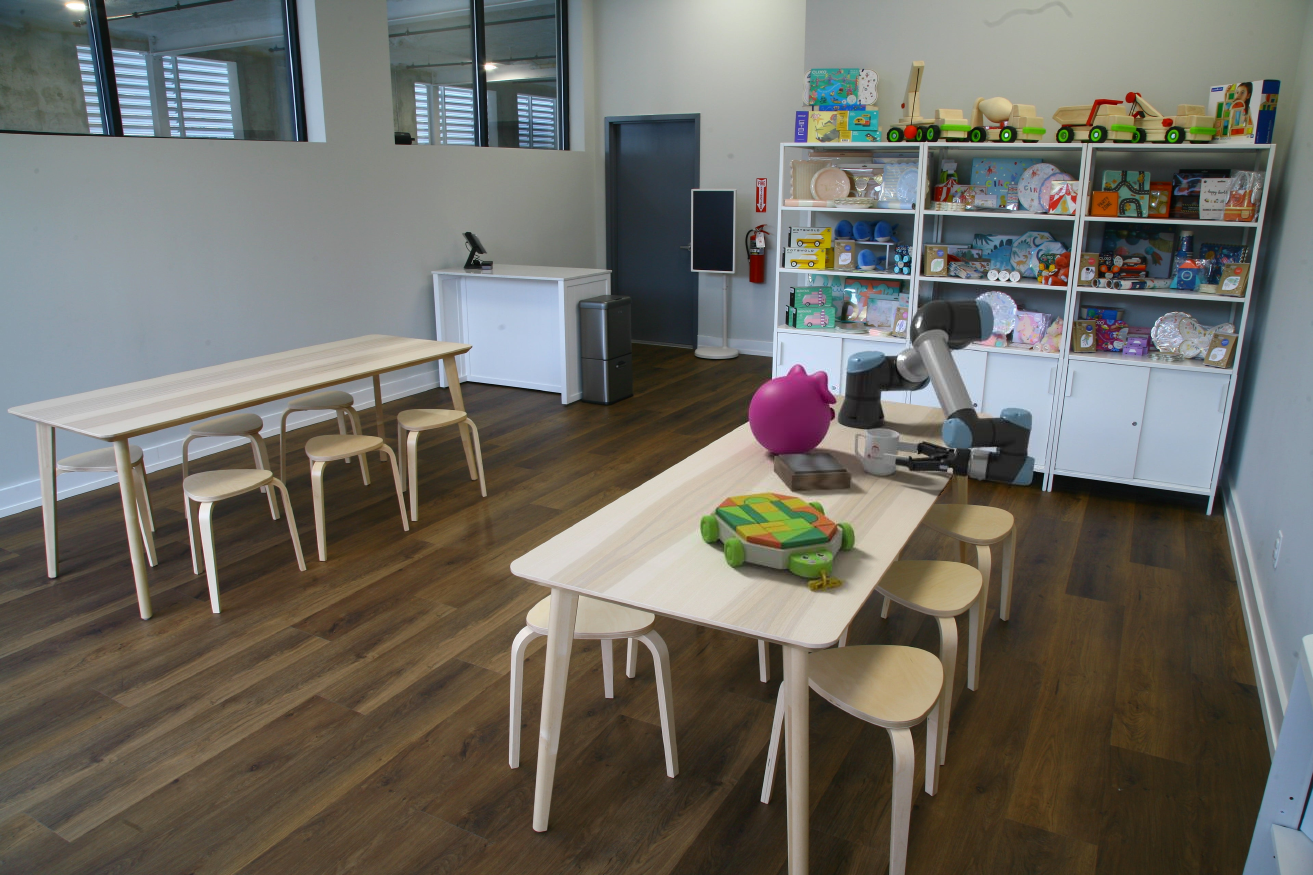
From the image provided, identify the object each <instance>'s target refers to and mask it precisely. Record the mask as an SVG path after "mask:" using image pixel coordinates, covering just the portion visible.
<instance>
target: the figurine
mask: <svg viewBox="0 0 1313 875" xmlns="http://www.w3.org/2000/svg"><path fill="white" fill-rule="evenodd" d="M837 402H838V401H837V399H836V397H835V395H834V394H833V393H832V392H831V390H829V377H828V373H827V372H825V370H819V371H817V372H814V373H812V374H809V375H808V373H807V371H806V369H805V368H804V366H803V365H801V364H795V365H793V366H792V367H791V368H790V369H789V371H788V373H787V374H786V375H784V376H779V377H778V376H777V377H775V378H773V379H770V380H768V381H766V382H765V383H763V384H762V385H761V386H760V387H759V388H758V389H757V390H756V391H755V393H754V395H753V396H752V399H751V401H750V403H749V409H748V423H749V426H750V430H751V432H752V435H753V437H754V439H755V440H756V441H757V442H758V443H759V445H760V446H761V447H763V448H764V449H766V450H767V451H769V452H771V453H774V454H776V455H786V454H808V452H810V451H813V450H814V449H816V448H817V447H818V446H819V445H820V444H821V443H822V442H823V441H824V440H825V438H826V436H827V434H828V431H829V429H830V428H829V427H830V425H831V421H833V420H835V418H836V411H835V410H834V408H833V407H830V405H836V403H837Z"/></svg>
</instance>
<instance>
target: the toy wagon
mask: <svg viewBox="0 0 1313 875" xmlns="http://www.w3.org/2000/svg"><path fill="white" fill-rule="evenodd" d="M825 514H826V513H825V509H824V507H823V505H822V504H821V503H820V502H818V501H812V502H811V501H810V502H806V501H805V500H803V498H801V497H799V496H798V497H797V496H793V495H786V494H779V493H775V492H761V493H751V494H743V495H735V496H729V497H727V498H725V499H724V500H723V501H722V502H721V503H720V504H719V505H718V506H716V508H714V509H713V510H712V511H711V512H710V515H709V514H708V515H703V516H702V517H701V519H700V524H699V528H700V530H699V531H700V535H701V537H702V540H703V541H704V543H706V544H709V543H710V544H711V543H715V542H717V541H718V539H719V540H720V541H721V542H722V543H723V544H724V545H723V553H724V558H725V560H726V562H727V564H728V566H730V567H732V568H736V567H738V568H739V567H741V566H742V565H743V564H744V562H747V563H751V564H755V565H761V566H763V567H768V568H772V569H773V568H774V569H778V570H787V569H788V570H789V571H791V572H792V573H793V574H794V575H798V576H800V577H804V578H809V579H810V578H811V579H813V580H809V581H808V582H807V586H808V589H809V590H810V591H811V592H815V591H825V590H830V588H839V587H842V586H843V583H844V582H843V581H842V580H841V579H840V578H837V577H835V576H832V577H827V576H829V575H830V574H831V573H832V572H833V564H834V558H835V556H836V555H837V553H838V552H839V550H842V551H849V550H852V549H853V547H854V546H855V543H856V542H855V541H856V535H855V530H854V528H853V527H852V526H851V524H850V523H848V522H846V521H845V522H839V523H835V522H834V521H833V520H831V519H830V518H829V517H827V516H826V515H825ZM818 578H820V579H818ZM814 579H816V580H814Z"/></svg>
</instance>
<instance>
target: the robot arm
mask: <svg viewBox="0 0 1313 875" xmlns="http://www.w3.org/2000/svg"><path fill="white" fill-rule="evenodd" d="M994 326H995V316H994V311H993V308H992V306H991V304H990V303H989V302H988V301H986V300H982V299H977V298H974V299H970V300H969V299H968V300H967V299H966V300H961V299H959V300H955V299H953V300H950V299H949V300H947V299H946V300H945V299H944V300H939V299H938V300H937V299H936V300H932V301H929V302H927V303H925V304H923V305H922V306H920V308H919V309H918V310H917V311H916V312H915V313H914V315H913V317H912V320H911V322H910V326H909V339H910V342H911V343H910V344H911V345H912V348H911V347H910V348H905V349H903V350H902V351H901V352H900V353H898V354H897V355H885V353H884V352H882V351H879V350H878V351H877V350H864V351H858V352H856V353H853V354H851V355H850V356H849V357H848V359H847V366H846V369H845V371H846V375H845V376H846V378H845V391H844V398H843V402H842V404H841V407H840V409H839V411H838V414H837V422H838V423H839V424H841V425H843V426H847V427H851V428H857V429H858V428H859V429H877V428H880V427H883V426H884V425H885V417H886V416H885V413H884V409H883V405H882V393H883V392H908V391H909V392H916V391H922V390H925V389H926V388H927V387H928V385H929V384H930V383H931V385H932V388H933V390H934V392H935V395H936V397H937V400H938V403H939V405H940V408H941V410H942V413H943V415H944V418H945V421H944V423H943V425H942V428H941V435H942V441H943V444H944V445H945V446H947V447H945V446H941V445H939V444H935V443H931V442H928V441H921V442H911V441H904V440H899V446H898V452H906V453H911V454H912V453H913V454H917V455H921V454H922V455H924V456H926V457H924V456H922V457H913V456H911V455H909V456H904V455H899V454H898V455H892V454H885V453H884V456H883V464H888V465H894V466H896V467H902V468H907V469H908V471H910V472H942V473H948V471H949V470H948V469H952V475H953V476H957V477H970V478H973V479H977V480H978V481H982V480H987V481H991V482H1000V483H1004V484H1010V485H1018V486H1019V485H1021V486H1028V485H1030V484H1031V483H1032V481H1033V475H1034V469H1035V462H1036V459H1035V458H1034V457H1033V456H1030V455H1028V454H1029V453H1028V452H1029V451H1028V448H1029V444H1030V437H1031V433H1032V432H1031V431H1032V429H1033V428H1032V426H1033V415H1032V413H1031V412H1030V411H1029V410H1027V409H1022V408H1017V407H1007V408H1003V409H1002V410H1001V412H1000V415H999V417H979V416H978V414H977V411H976V409H975V406H974V404H973V402H972V399H971V397H970V395H969V393H968V390H967V387H966V385H965V382H964V380H963V378H962V375H961V373H960V371H959V369H958V366H957V364H956V361H955V359H954V356H953V355H952V352H953V351H959V350H963V349H965V348H967V347H968V346H970V345H971V344H972V343H974V342H980V343H982V342H986V341H988V340H989V339H990V338H991V337H992V335H993V331H994ZM978 448H981V449H978ZM982 448H995V450H996V451H990V450H985V449H982ZM972 449H973V450H972Z"/></svg>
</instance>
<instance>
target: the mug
mask: <svg viewBox="0 0 1313 875" xmlns="http://www.w3.org/2000/svg"><path fill="white" fill-rule="evenodd" d="M854 436H855V437H854V453H855V455H856V456H857V457H858V458H859V459H860V460H861V461H862V463H863V465H862V466H863V469H864V470H865V471H866V472H867V473H868V474H870V475H873V476H878V475H879V476H882V477H884V476H886V475H887V476H890V475H892V474H894V473H895V472H896V470H897V466H894V465H888V464H883V456H884V453H885V454H892V455H899V454H898V452H899V451H898V446H899V441H900V433H899V432H897V431H895V430H893V429H887V428H869V429H867V430H866V432H865V433H856V434H854ZM859 437H863V438H865V442H864V453H863V455H862V454H861V453H860V452H859V449H858V448H859ZM887 476H886V477H887Z"/></svg>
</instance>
